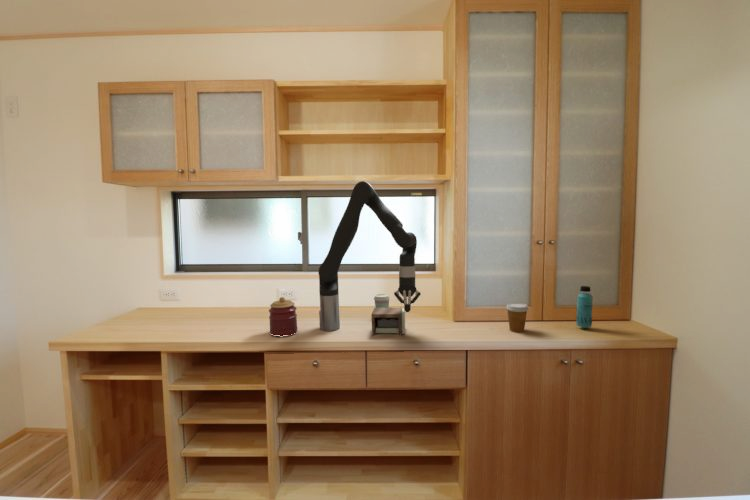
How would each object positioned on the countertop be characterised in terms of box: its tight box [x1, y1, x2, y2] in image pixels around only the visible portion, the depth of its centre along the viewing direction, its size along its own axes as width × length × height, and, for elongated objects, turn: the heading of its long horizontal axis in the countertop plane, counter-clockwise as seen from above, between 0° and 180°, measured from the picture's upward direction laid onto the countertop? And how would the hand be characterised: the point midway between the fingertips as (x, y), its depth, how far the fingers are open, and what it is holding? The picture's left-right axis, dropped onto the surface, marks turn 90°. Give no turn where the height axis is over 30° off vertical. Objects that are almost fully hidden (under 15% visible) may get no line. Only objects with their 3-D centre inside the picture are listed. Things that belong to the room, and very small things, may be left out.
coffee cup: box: [373, 293, 391, 308], centre depth 203 cm, size 8×8×12 cm
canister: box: [268, 296, 298, 336], centre depth 180 cm, size 13×13×18 cm
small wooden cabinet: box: [371, 307, 403, 337], centre depth 179 cm, size 14×12×10 cm
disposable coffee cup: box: [505, 302, 529, 333], centre depth 175 cm, size 10×10×12 cm
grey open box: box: [378, 317, 399, 328], centre depth 179 cm, size 10×6×4 cm, turn 84°
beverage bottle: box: [575, 285, 594, 328], centre depth 174 cm, size 6×7×20 cm
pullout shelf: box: [375, 307, 406, 335], centre depth 178 cm, size 14×10×9 cm
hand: (407, 311), depth 177 cm, fingers closed
